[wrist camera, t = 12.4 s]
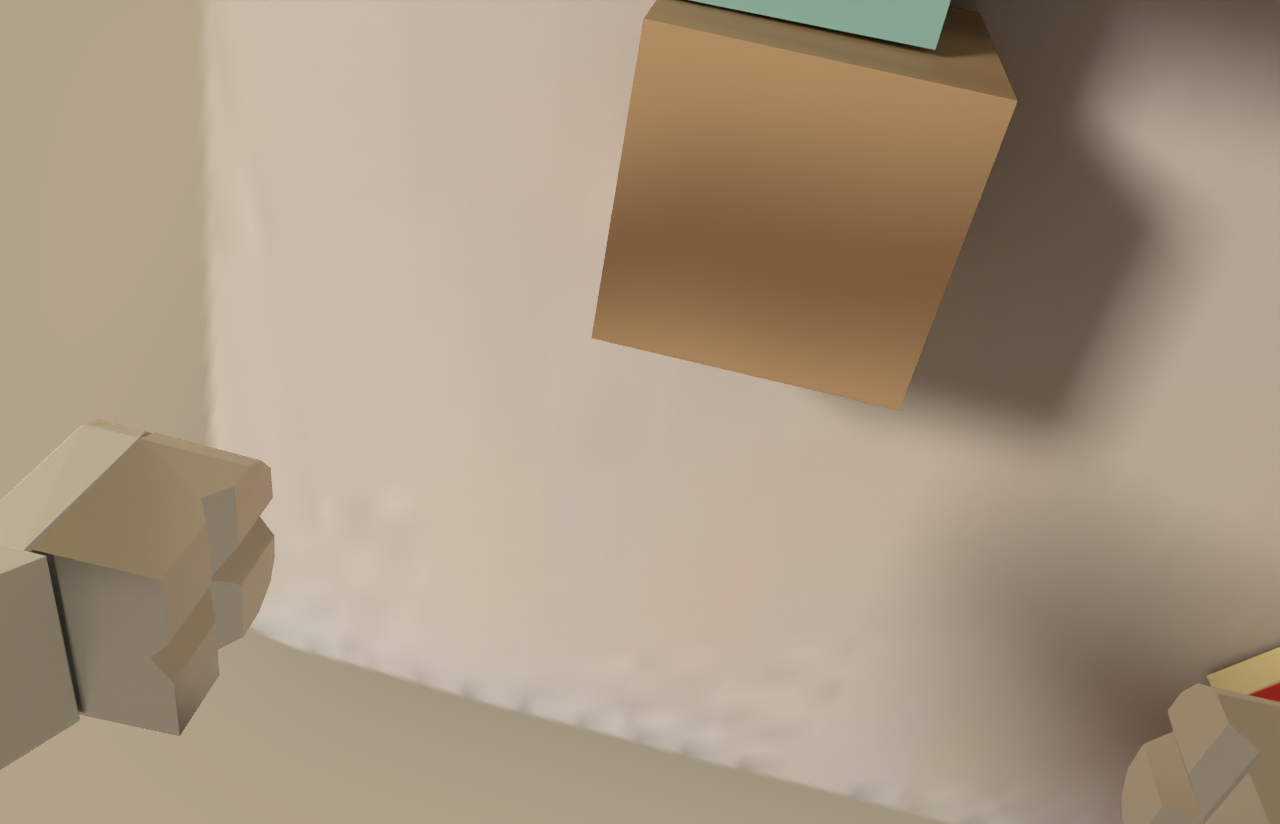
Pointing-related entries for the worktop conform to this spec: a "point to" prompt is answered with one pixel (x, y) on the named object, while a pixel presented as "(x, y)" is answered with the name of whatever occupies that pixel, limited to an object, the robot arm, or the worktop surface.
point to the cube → (797, 194)
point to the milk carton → (1252, 676)
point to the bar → (858, 16)
